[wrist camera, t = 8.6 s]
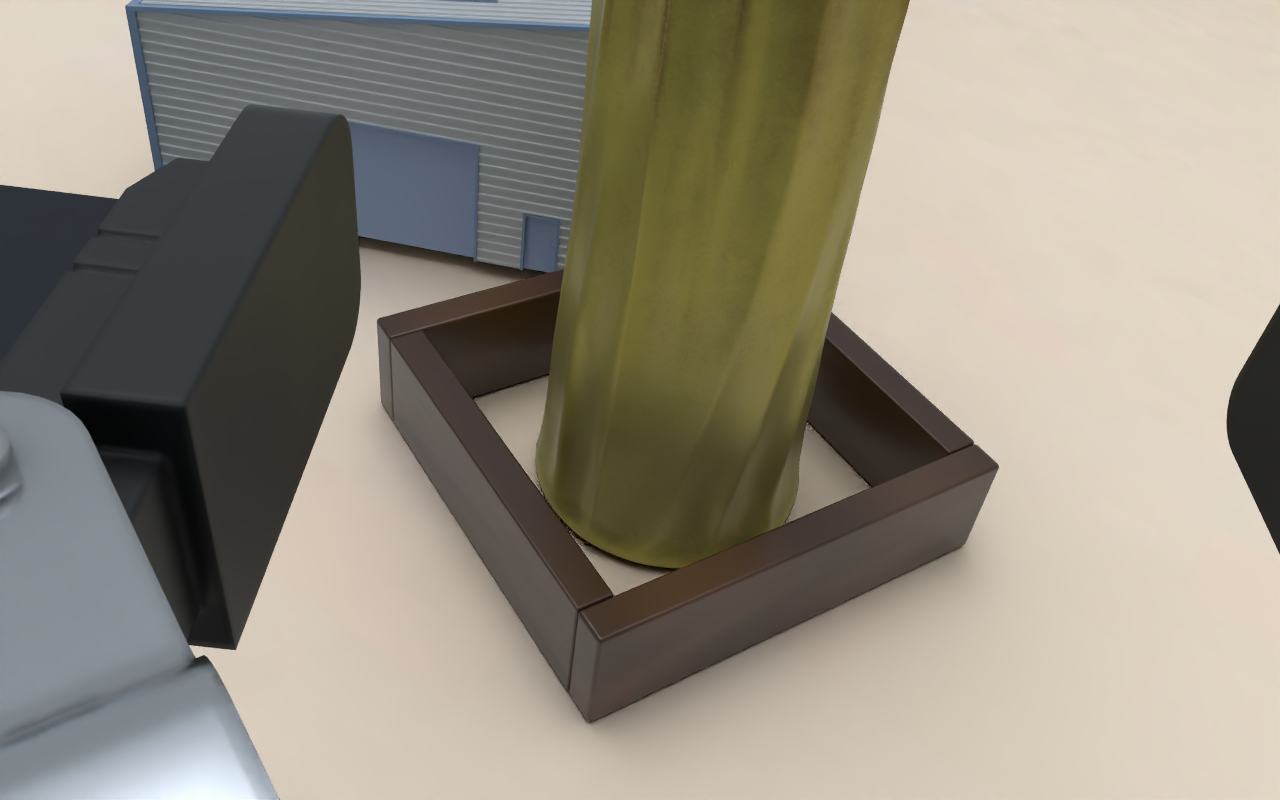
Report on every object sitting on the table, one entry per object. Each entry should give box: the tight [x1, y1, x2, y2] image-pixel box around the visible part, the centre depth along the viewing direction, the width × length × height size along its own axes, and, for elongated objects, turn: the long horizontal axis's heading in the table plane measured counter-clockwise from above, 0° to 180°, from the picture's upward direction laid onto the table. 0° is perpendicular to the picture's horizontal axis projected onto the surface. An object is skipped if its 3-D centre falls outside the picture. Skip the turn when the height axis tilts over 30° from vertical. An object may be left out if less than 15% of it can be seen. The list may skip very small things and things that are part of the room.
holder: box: [377, 269, 999, 722], centre depth 27 cm, size 10×10×3 cm
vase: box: [535, 0, 910, 568], centre depth 23 cm, size 6×6×14 cm
